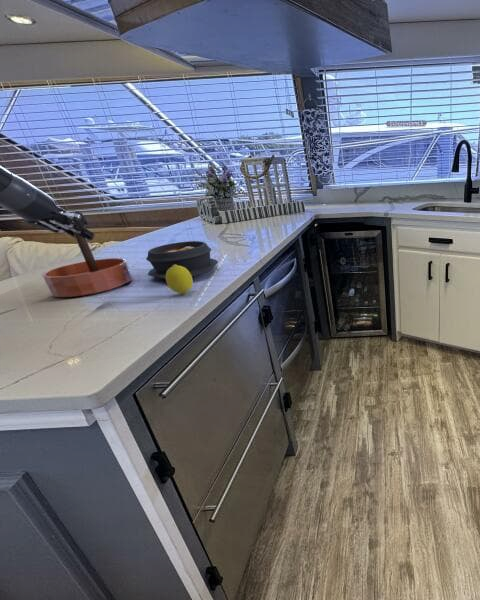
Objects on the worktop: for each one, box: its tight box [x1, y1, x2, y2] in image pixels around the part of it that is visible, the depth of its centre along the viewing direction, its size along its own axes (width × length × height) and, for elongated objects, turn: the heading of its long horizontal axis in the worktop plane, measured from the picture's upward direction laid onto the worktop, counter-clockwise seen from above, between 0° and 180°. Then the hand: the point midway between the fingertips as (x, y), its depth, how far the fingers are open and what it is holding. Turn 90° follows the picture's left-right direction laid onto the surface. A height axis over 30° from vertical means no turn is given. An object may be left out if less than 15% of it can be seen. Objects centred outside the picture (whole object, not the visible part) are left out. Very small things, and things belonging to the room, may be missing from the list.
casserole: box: [145, 240, 219, 280], centre depth 99 cm, size 25×19×8 cm
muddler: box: [72, 224, 99, 272], centre depth 89 cm, size 5×5×16 cm
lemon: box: [165, 265, 194, 295], centre depth 81 cm, size 6×6×8 cm
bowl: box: [41, 257, 133, 298], centre depth 90 cm, size 17×17×6 cm
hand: (87, 237), depth 90 cm, fingers closed on muddler
